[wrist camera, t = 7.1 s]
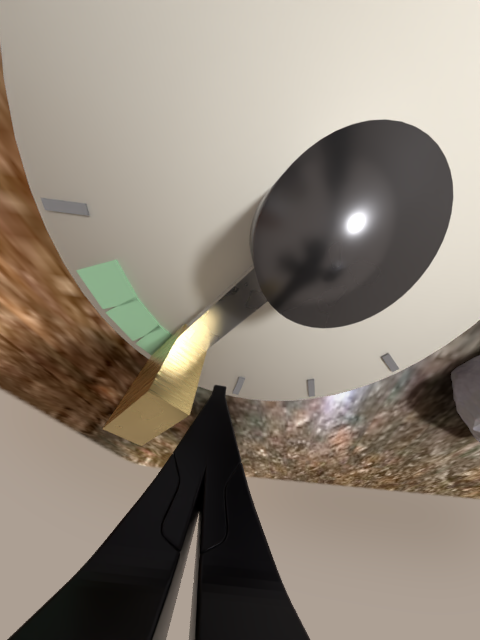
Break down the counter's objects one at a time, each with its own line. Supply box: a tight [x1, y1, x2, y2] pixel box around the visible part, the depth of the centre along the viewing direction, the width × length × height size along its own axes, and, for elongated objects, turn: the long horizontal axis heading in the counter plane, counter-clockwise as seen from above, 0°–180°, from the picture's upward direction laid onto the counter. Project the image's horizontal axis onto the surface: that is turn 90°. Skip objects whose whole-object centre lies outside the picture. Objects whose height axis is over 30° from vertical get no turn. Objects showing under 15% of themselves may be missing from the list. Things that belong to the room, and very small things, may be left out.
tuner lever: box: [103, 119, 453, 446], centre depth 7 cm, size 13×4×4 cm, turn 133°
